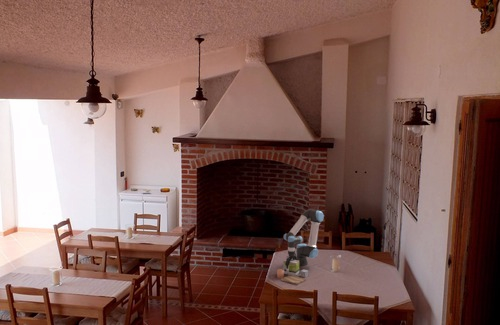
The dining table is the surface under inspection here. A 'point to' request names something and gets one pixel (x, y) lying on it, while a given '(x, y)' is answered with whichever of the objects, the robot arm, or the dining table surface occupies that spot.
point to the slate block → (304, 273)
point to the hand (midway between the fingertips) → (291, 269)
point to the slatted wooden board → (293, 279)
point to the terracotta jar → (280, 273)
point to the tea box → (292, 268)
